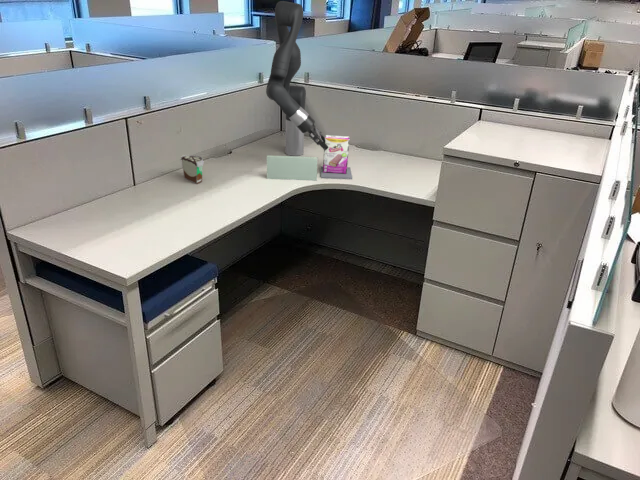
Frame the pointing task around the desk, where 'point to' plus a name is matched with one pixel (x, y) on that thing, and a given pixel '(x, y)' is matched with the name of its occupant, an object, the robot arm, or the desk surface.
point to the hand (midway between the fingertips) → (326, 146)
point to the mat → (336, 174)
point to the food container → (192, 168)
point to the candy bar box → (336, 154)
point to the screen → (292, 167)
